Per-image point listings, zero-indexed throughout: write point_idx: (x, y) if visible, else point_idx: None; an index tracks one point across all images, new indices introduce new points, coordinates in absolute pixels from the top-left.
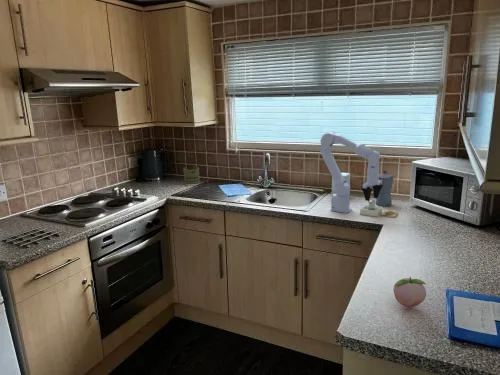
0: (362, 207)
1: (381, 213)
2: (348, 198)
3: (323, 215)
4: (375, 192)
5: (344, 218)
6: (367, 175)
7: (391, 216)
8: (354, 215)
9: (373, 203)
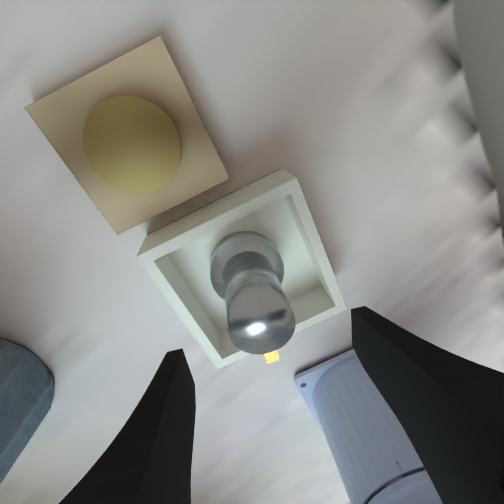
0: (301, 328)
1: (211, 185)
2: (402, 445)
3: (497, 357)
4: (182, 441)
5: (474, 265)
6: None
7: (175, 69)
8: (377, 282)
9: (269, 287)
